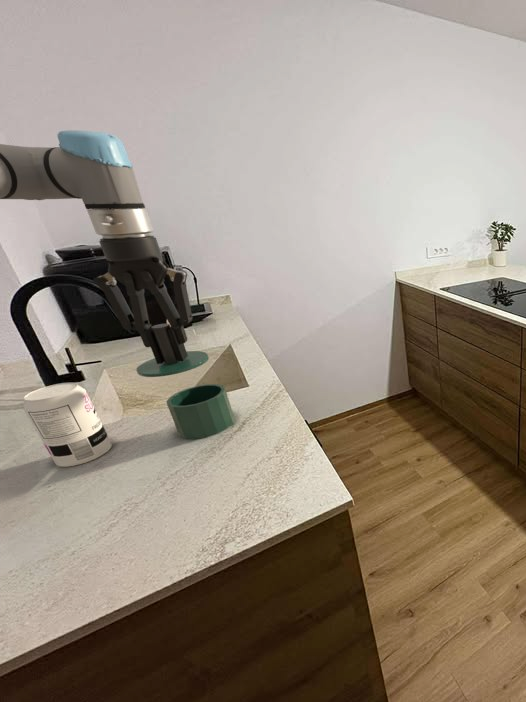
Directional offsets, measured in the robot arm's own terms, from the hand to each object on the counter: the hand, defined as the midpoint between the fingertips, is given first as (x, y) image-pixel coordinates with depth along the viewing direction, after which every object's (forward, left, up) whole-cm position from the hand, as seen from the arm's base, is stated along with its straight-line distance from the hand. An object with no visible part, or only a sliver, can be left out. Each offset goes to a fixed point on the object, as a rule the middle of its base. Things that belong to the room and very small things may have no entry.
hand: (172, 359), depth 74 cm
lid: (0, 0, -1) cm, 1 cm away
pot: (0, +4, -18) cm, 19 cm away
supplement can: (-20, +1, -19) cm, 28 cm away
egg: (-30, +86, -19) cm, 93 cm away
